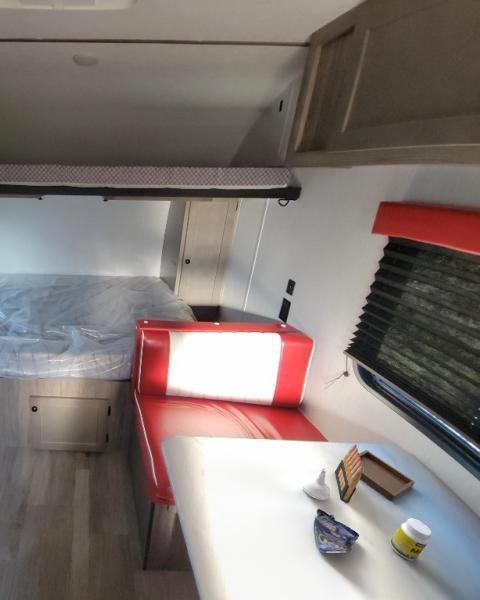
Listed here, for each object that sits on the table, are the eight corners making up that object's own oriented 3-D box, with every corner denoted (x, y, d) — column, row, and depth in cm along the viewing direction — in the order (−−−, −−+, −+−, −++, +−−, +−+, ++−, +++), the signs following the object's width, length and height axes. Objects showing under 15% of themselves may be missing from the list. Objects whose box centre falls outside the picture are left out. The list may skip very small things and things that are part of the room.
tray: (411, 487, 96) (415, 482, 96) (391, 501, 91) (394, 496, 90) (363, 454, 106) (366, 449, 106) (342, 465, 101) (345, 460, 100)
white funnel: (307, 500, 88) (318, 478, 85) (296, 480, 94) (306, 459, 91) (331, 505, 88) (344, 483, 85) (319, 484, 94) (330, 463, 91)
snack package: (288, 516, 84) (329, 566, 73) (300, 497, 82) (344, 546, 71) (323, 516, 87) (368, 565, 76) (336, 498, 85) (383, 545, 74)
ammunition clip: (348, 503, 89) (367, 470, 85) (340, 499, 90) (359, 466, 85) (342, 474, 98) (359, 443, 93) (334, 471, 99) (351, 440, 94)
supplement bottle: (406, 563, 76) (424, 539, 73) (384, 542, 80) (400, 518, 77) (420, 558, 77) (439, 534, 74) (398, 537, 81) (414, 514, 78)
